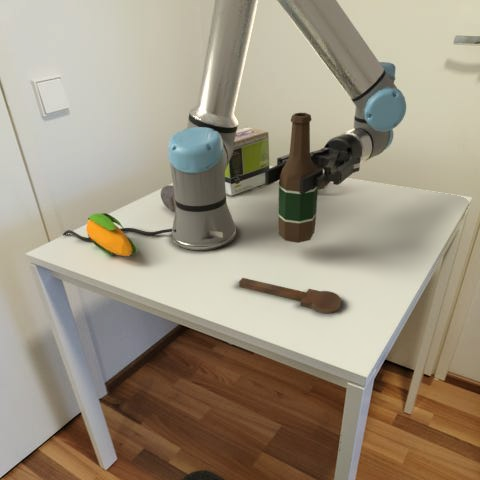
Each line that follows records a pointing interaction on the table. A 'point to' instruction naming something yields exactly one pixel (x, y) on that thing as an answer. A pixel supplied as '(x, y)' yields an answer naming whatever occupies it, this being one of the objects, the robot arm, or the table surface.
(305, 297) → the wooden spoon
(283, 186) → the beer bottle
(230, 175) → the tea box
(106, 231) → the corn
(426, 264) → the table surface
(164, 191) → the perforated stone tool
